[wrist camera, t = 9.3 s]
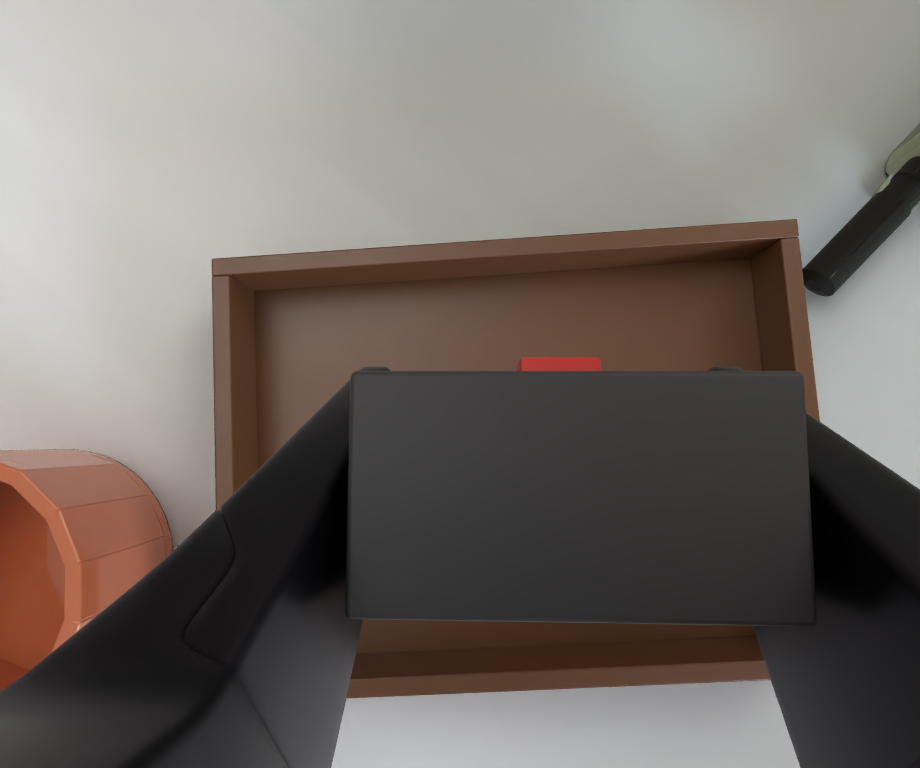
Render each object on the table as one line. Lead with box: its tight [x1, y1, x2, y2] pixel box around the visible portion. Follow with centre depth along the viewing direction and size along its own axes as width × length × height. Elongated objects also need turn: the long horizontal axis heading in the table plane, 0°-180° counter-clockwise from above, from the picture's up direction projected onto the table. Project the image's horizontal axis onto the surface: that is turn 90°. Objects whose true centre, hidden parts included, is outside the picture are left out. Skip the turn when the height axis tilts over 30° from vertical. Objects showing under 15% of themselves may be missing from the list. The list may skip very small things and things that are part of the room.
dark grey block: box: [345, 357, 817, 626], centre depth 11 cm, size 3×5×9 cm, turn 90°
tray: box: [212, 219, 820, 698], centre depth 20 cm, size 14×19×3 cm
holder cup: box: [0, 449, 173, 691], centre depth 19 cm, size 8×8×5 cm
